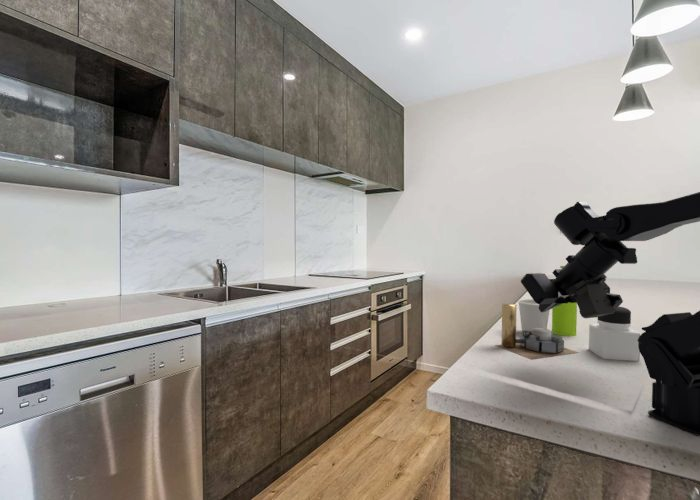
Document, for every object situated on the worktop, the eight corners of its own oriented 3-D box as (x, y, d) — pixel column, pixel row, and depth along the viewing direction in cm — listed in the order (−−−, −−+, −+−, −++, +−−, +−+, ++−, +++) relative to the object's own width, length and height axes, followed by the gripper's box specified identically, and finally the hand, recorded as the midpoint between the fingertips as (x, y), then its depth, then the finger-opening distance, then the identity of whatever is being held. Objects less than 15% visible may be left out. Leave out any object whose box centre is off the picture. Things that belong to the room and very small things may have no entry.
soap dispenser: (555, 339, 96) (557, 266, 95) (549, 333, 103) (550, 264, 102) (580, 341, 94) (582, 267, 94) (572, 334, 101) (573, 265, 100)
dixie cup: (521, 340, 95) (521, 303, 95) (514, 332, 104) (514, 298, 103) (555, 342, 94) (556, 304, 93) (545, 334, 102) (545, 299, 101)
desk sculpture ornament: (569, 353, 80) (570, 309, 80) (506, 350, 82) (507, 307, 82) (553, 342, 89) (554, 303, 88) (497, 340, 91) (497, 301, 90)
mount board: (579, 356, 82) (579, 333, 82) (531, 364, 77) (531, 339, 77) (539, 343, 92) (539, 323, 92) (494, 349, 87) (495, 327, 87)
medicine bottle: (640, 365, 76) (641, 310, 76) (603, 363, 78) (604, 309, 77) (621, 355, 83) (623, 304, 83) (588, 353, 85) (589, 303, 84)
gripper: (584, 299, 58) (529, 347, 68) (657, 294, 64) (596, 339, 75) (544, 251, 65) (499, 301, 76) (613, 250, 71) (563, 297, 82)
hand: (541, 310), depth 77 cm, fingers closed
